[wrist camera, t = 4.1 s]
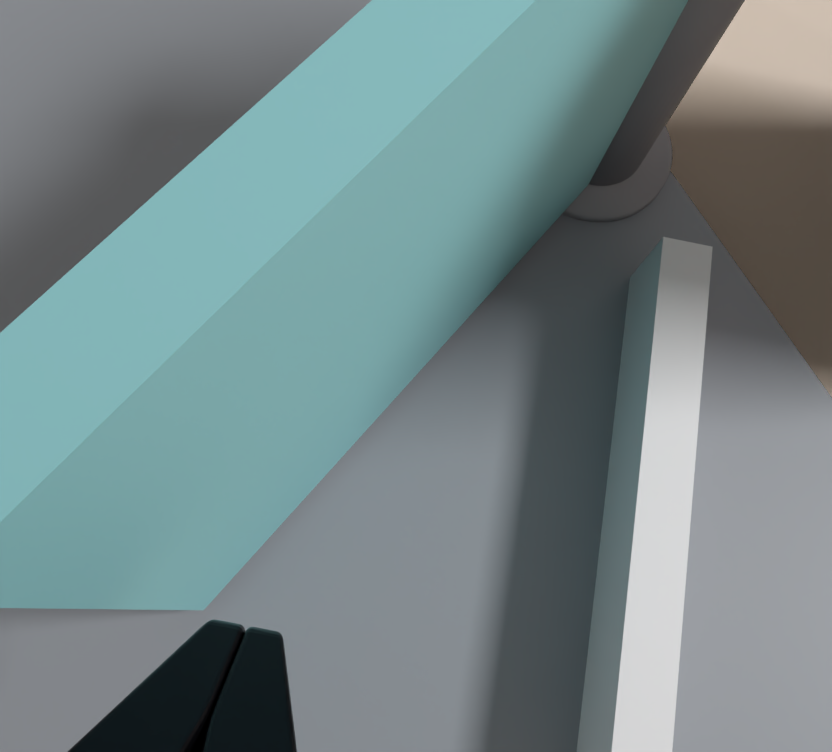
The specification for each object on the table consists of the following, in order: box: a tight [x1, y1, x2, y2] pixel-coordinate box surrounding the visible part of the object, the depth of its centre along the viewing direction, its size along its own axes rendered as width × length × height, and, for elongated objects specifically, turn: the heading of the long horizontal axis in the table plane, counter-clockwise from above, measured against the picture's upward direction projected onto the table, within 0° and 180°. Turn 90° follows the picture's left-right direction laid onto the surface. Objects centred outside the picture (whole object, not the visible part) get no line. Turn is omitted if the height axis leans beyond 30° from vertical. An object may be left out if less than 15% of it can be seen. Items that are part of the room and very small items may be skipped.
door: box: [0, 0, 745, 610], centre depth 12 cm, size 14×3×10 cm, turn 140°
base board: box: [0, 0, 832, 752], centre depth 16 cm, size 19×24×3 cm
